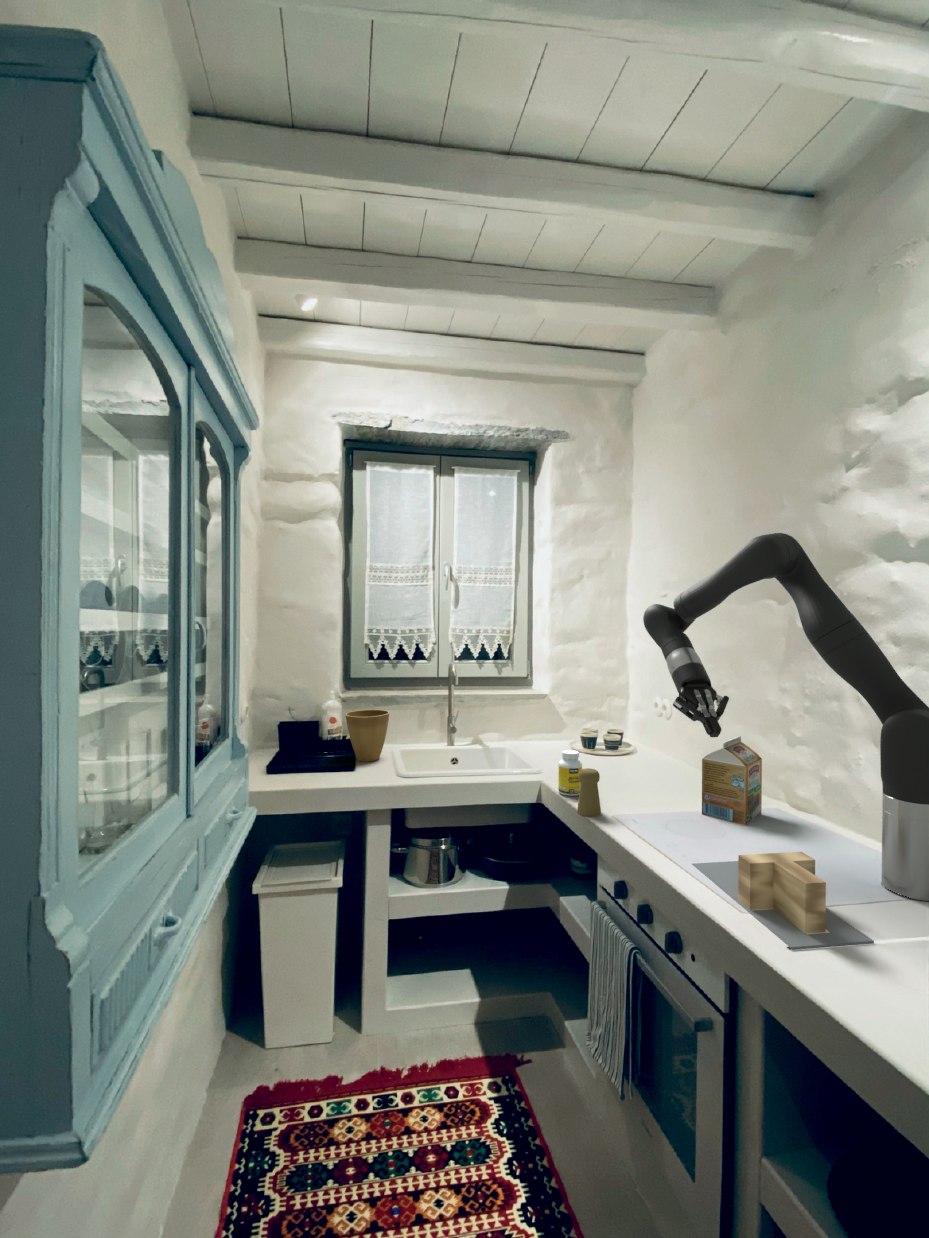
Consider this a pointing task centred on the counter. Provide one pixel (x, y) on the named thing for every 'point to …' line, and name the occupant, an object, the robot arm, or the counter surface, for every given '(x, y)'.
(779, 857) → the oak T block
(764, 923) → the slate mat
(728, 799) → the milk carton
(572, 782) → the pill bottle
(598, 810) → the tan rounded upright piece
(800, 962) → the counter surface
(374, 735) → the plant pot
